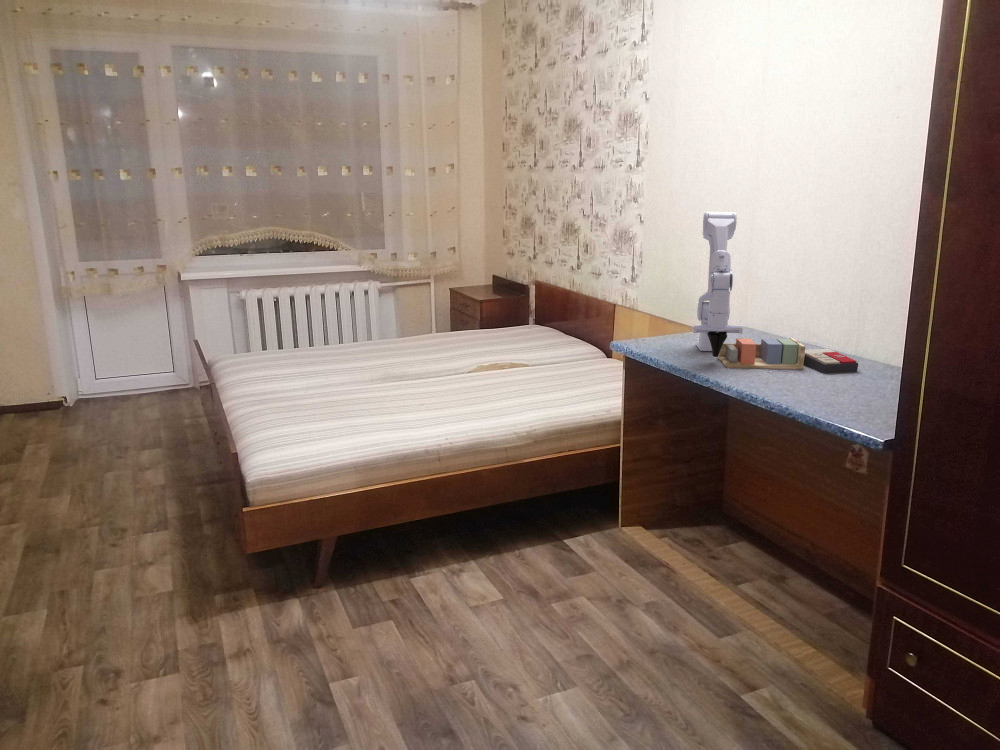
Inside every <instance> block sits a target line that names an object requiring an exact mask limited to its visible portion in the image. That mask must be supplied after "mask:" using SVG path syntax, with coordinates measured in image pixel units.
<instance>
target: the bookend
mask: <svg viewBox="0 0 1000 750" xmlns="http://www.w3.org/2000/svg"><path fill="white" fill-rule="evenodd" d="M737 356H738V349H737V348H736V347H735V346H734V345H726V353H725V358H726V359H727V360H728V361H729V362H730V363H737Z"/></svg>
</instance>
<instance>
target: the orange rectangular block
mask: <svg viewBox="0 0 1000 750" xmlns="http://www.w3.org/2000/svg"><path fill="white" fill-rule="evenodd" d="M735 344H736V348H737V349H738V356H737V360H738V361H739V362H740V363H741V364H755V354H756V344H757V343H755V341H753V340H752V339H751V338H744V337H743V338H736V340H735Z"/></svg>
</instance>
